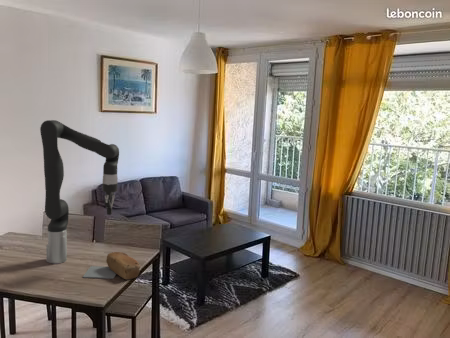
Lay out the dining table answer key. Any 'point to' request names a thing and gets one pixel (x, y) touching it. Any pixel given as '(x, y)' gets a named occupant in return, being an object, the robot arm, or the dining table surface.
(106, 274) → the mat
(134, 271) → the brown rounded piece
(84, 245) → the dining table surface
